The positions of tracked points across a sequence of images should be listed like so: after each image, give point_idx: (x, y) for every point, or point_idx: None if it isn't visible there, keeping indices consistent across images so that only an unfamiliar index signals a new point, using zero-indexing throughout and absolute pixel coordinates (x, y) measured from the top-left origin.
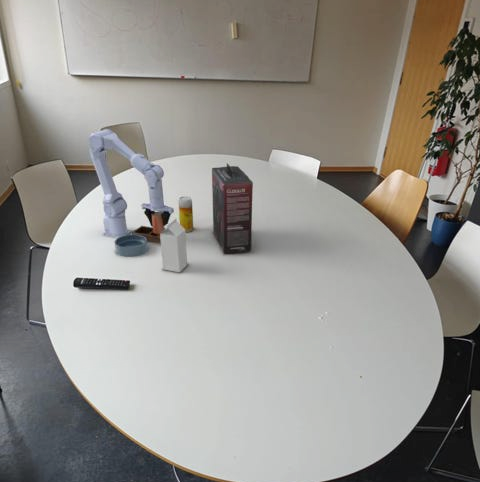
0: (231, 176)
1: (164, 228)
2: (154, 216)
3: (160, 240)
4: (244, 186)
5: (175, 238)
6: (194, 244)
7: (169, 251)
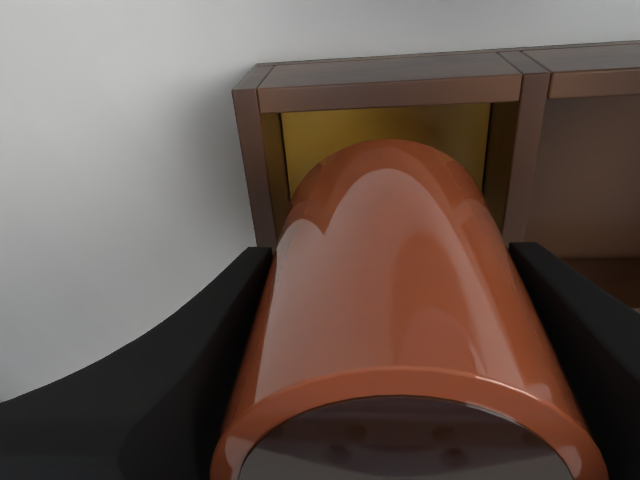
0: None
1: (258, 247)
2: (406, 359)
3: (292, 75)
4: None
5: None
6: (15, 234)
7: None
